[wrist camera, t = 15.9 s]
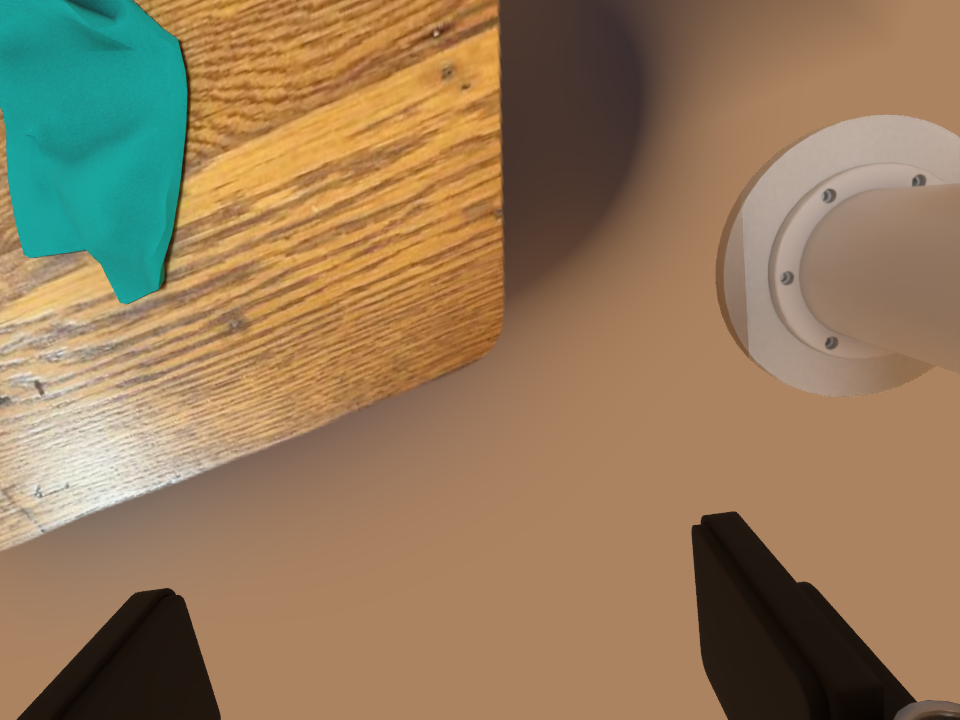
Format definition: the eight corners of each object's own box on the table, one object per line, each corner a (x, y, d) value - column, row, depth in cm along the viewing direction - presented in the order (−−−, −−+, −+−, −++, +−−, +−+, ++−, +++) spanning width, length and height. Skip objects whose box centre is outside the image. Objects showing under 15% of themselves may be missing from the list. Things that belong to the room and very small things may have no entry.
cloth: (248, 280, 37) (233, 284, 35) (44, 320, 38) (17, 326, 36) (111, -203, 31) (83, -234, 29) (-128, -144, 32) (-174, -171, 30)
